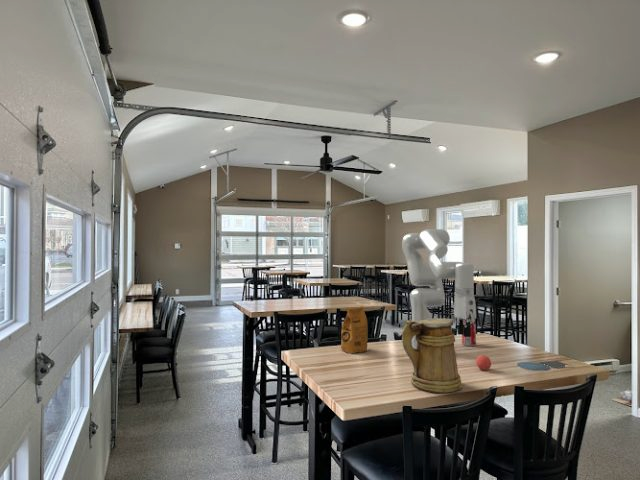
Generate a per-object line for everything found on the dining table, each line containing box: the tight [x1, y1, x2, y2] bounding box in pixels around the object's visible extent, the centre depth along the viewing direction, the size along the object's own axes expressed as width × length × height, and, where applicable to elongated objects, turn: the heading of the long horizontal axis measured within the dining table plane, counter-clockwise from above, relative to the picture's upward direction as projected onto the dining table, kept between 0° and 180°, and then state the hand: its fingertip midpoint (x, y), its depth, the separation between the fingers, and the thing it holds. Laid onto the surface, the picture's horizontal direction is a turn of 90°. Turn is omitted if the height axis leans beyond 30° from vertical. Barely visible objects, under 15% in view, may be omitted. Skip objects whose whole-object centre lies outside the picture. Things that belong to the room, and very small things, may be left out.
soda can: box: [461, 321, 477, 348], centre depth 225 cm, size 7×7×13 cm
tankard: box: [401, 317, 463, 394], centre depth 158 cm, size 18×24×25 cm
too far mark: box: [539, 360, 569, 369], centre depth 188 cm, size 10×10×1 cm
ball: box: [475, 355, 492, 371], centre depth 180 cm, size 6×6×6 cm
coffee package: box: [340, 305, 369, 355], centre depth 211 cm, size 10×12×22 cm
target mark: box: [516, 361, 551, 371], centre depth 186 cm, size 13×13×1 cm
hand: (464, 334), depth 178 cm, fingers open, 3 cm apart
